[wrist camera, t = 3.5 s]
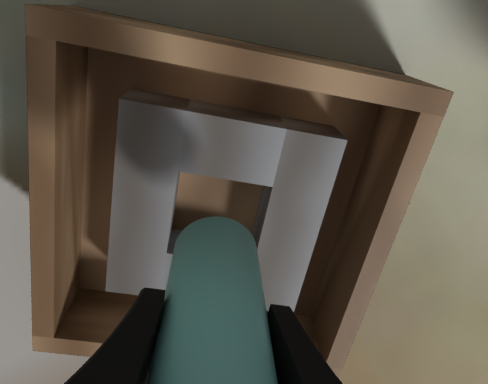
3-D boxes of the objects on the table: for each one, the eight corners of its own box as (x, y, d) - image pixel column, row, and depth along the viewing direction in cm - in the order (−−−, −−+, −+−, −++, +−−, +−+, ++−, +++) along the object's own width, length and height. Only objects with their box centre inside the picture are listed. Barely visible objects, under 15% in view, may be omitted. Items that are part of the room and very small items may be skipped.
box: (405, 75, 20) (454, 92, 16) (319, 323, 26) (336, 382, 22) (70, 5, 18) (25, 4, 14) (64, 292, 24) (32, 351, 20)
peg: (262, 220, 15) (313, 468, 7) (251, 290, 16) (282, 570, 8) (176, 212, 15) (120, 463, 6) (171, 284, 16) (118, 569, 8)
